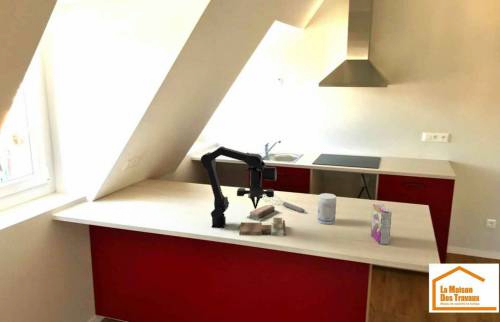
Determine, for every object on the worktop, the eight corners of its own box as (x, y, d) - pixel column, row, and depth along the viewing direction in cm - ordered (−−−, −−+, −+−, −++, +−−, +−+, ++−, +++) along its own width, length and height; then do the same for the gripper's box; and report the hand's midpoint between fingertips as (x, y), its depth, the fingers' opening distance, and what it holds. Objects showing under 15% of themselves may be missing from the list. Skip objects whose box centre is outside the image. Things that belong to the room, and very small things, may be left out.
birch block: (273, 228, 188) (273, 220, 187) (273, 225, 192) (273, 217, 192) (282, 229, 188) (282, 220, 187) (281, 225, 192) (282, 217, 191)
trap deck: (239, 235, 186) (239, 228, 185) (241, 225, 198) (240, 219, 197) (285, 235, 185) (285, 229, 184) (284, 226, 196) (284, 220, 196)
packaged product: (260, 214, 202) (246, 210, 208) (260, 222, 203) (246, 218, 209) (279, 205, 216) (265, 202, 222) (279, 213, 217) (265, 210, 223)
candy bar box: (369, 235, 185) (372, 203, 181) (379, 235, 185) (382, 203, 182) (379, 245, 174) (381, 211, 171) (389, 244, 174) (392, 211, 171)
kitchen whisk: (303, 215, 213) (303, 205, 212) (260, 202, 237) (260, 192, 235) (309, 213, 217) (309, 202, 216) (267, 200, 241) (267, 190, 240)
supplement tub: (316, 218, 208) (317, 193, 205) (333, 218, 208) (334, 193, 205) (319, 224, 198) (320, 198, 195) (337, 224, 198) (338, 198, 195)
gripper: (235, 183, 181) (235, 213, 184) (274, 184, 180) (273, 214, 183) (237, 177, 192) (237, 206, 195) (274, 178, 191) (273, 207, 194)
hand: (255, 208), depth 192 cm, fingers closed
